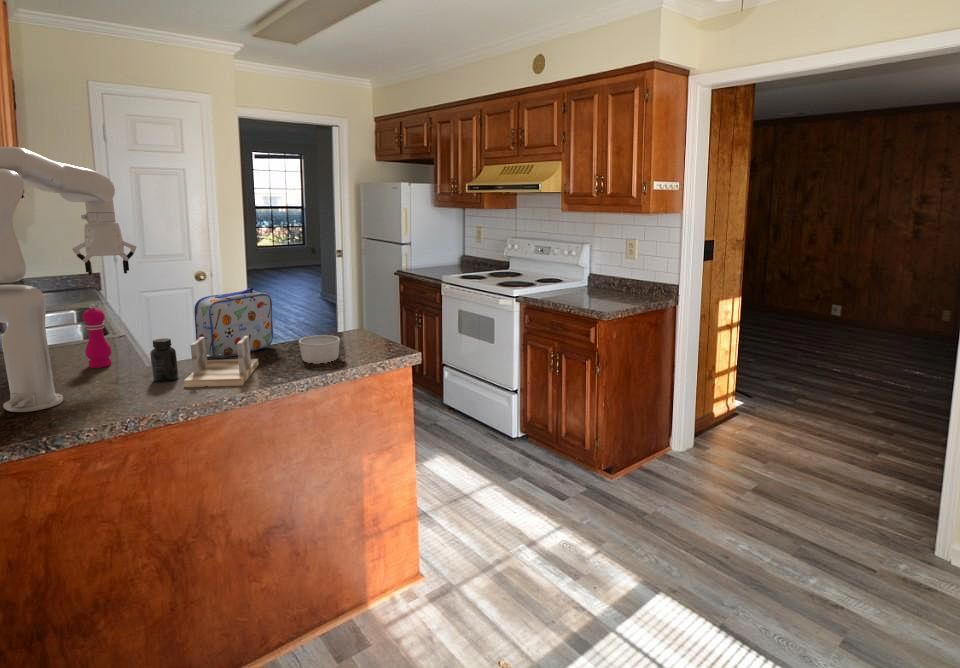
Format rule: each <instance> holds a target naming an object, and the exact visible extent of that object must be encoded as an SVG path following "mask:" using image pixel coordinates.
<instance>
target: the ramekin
mask: <svg viewBox="0 0 960 668" xmlns="http://www.w3.org/2000/svg"><path fill="white" fill-rule="evenodd" d="M340 343H341V339H340V338H339V336H336V335H329V334H325V335H324V334H319V335H316V334H315V335H310V336H305V337H301V338H300V339H299V340H298V346H299V350H300V356H301V359H302V360H303V361H304V363H306V362H307V363H306V364H310V363H313V364H314V365H321V364H320V363H324V364H328V363H327V362H330V363H332V362H331V361H333V362H335V361H337V359H338V358H339V355H340V353H339V352H340ZM334 360H335V361H334ZM313 364H312V365H313Z"/></svg>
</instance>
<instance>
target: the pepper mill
mask: <svg viewBox="0 0 960 668" xmlns="http://www.w3.org/2000/svg"><path fill="white" fill-rule="evenodd" d="M88 308H89V309H86V310H85V311H84V312H83V313H82V321H83V322H84V323H86V324H85V330H87V332H88V341H87V344H86V346H85V357H86V358H87V359H89V360H88V367H89V368H90V369H99V368H100V369H101V368H106V367H107V368H108V367H110V366H111V365H112V363H113V362H112V359H111V358H110V356H111V355H112V353H113V352H112V348H111V346H110V344H109V343H108V341H107V339H106V338H105V335H104V328H105V326H104V325H105V323H104V320H106V319H105V318H106V315H105V312H104V311H102V310H101V309H99V308H97V307H96V304H94V303H91V304H89V306H88Z"/></svg>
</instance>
